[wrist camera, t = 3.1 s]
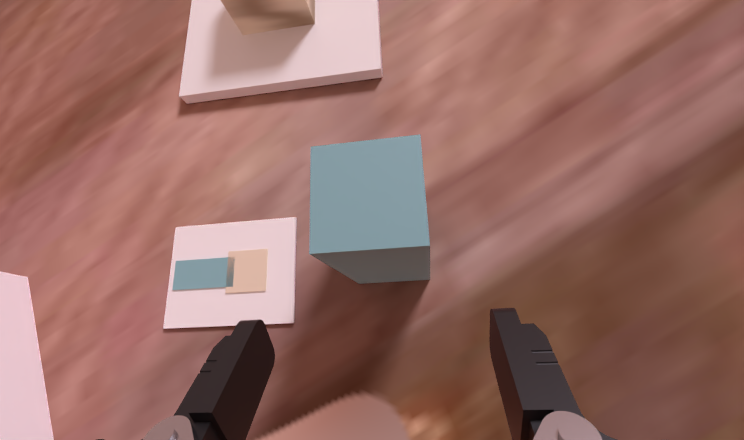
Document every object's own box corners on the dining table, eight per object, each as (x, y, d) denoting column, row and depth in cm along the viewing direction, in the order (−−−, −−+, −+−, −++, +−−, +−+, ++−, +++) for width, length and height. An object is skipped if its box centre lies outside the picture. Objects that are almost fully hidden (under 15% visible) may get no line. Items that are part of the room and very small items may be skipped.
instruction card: (296, 217, 25) (294, 216, 25) (294, 322, 23) (292, 322, 23) (177, 227, 26) (174, 226, 26) (165, 328, 24) (162, 328, 24)
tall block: (424, 211, 24) (420, 134, 14) (430, 279, 23) (429, 245, 13) (357, 216, 24) (310, 146, 15) (359, 283, 23) (309, 253, 14)
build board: (374, -77, 32) (372, -89, 31) (382, 77, 27) (380, 68, 26) (205, -44, 34) (199, -55, 33) (187, 103, 29) (178, 96, 28)
